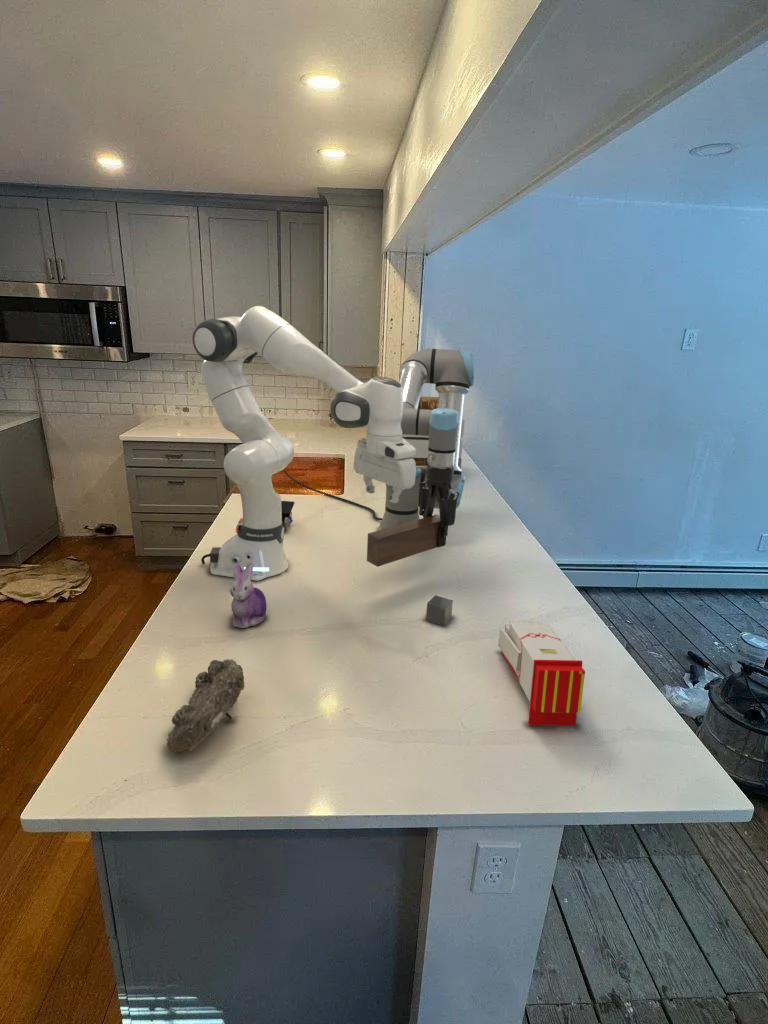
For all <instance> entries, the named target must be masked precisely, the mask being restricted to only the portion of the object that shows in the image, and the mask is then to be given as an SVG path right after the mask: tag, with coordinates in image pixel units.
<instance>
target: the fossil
mask: <svg viewBox="0 0 768 1024" xmlns="http://www.w3.org/2000/svg"><path fill="white" fill-rule="evenodd" d="M243 670H244V669H243V667H242V665H240V664H237V662H236V661H235V660H234V659H232V658H231V659H227V658H226V659H224V660H223V661H222V660H217V659H212V660H211V661H210V663H209V665H208V666H207V671H201V672H199V673H198V674H197V675H196V676H195V680H194V684H195V685H194V687H195V689H194V690H193V693H192V694H191V697H190V698H189V700H188V704H184V705H182V706H181V707H180V709H177V710H176V711H175V713H174V715H173V716H172V718H171V723H172V724H173V727H172V730H171V731H170V732H168V734H167V738H166V741H167V742H166V745H167V749H168V750H169V751H173V752H174V753H176V754H178V753H182V752H188V751H189V752H192V751H193V750H195V748H196V747H197V746H199V744H200V743H201V742H203V741H204V740H205V739H206V738H207V737H208V736H209V735H210V734H211V733H212V732H214V730H215V729H217V727H218V726H219V724H220V722H221V721H222V720H223V719H224V718H225V716H226V717H227V719H229V720H233V717H232V715H230V714H229V710H230V709H231V708H234V706H235V704H236V703H237V702H238V699H239V697H240V695H241V693H242V691H243V690H245V689H244V688H245V675H244V671H243Z"/></svg>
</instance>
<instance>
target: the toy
mask: <svg viewBox="0 0 768 1024" xmlns="http://www.w3.org/2000/svg"><path fill="white" fill-rule="evenodd" d="M498 636H499V637H498V642H497V646H498V647H499V649H500V653H501V654H502V656H503V657H504V659H505V661H506V663H507V664H508V665H509V667H510V669H511V671H512V672H513V674H514V676H515V677H516V679H517V680H518V681H519V684H520V686H521V688H522V690H523V692H524V694H525V696H526V698H527V700H528V701H529V710H528V719H527V724H528V726H573V727H575V726H576V724H577V723H576V722H577V715H578V714H581V710H582V709H581V708H582V701H583V692H584V683H585V674H586V670H585V669H584V668H583V662H584V661H583V660H581V659H580V660H578V659H576V657H575V656H574V655H573V654H572V653H571V651H570V650H569V648H568V647H567V645H565V644H564V642H563V641H562V640H561V638H560V637H559V636H558V635H557V633H556V631H555V630H554V629H553V628H552V627H551V626H550V624H549V622H527V621H526V622H525V621H523V622H521V621H509V624H504V628H503V627H500V628H499V634H498Z"/></svg>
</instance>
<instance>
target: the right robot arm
mask: <svg viewBox="0 0 768 1024" xmlns="http://www.w3.org/2000/svg"><path fill="white" fill-rule="evenodd" d="M474 363H475V361H474V354H473V352H472V351H470V350H464V349H463V350H462V349H450V348H449V349H447V348H446V349H444V348H429V347H428V348H423V349H420V350H417V351H415V352H413V353H412V354H410V355H409V356H408V357H407V358H405V359H404V361H403V362H402V363H401V365H400V367H399V371H398V378H399V381H398V382H399V383H400V384H401V386H402V390H403V418H402V421H401V428H402V434H407V435H420V436H429V447H428V459H427V463H428V464H429V465H428V466H426V473H425V472H422V469H421V468H420V467H419V466H418V467H417V466H416V476H415V484H414V486H413V487H412V488H410V489H405V490H402V492H401V494H400V495H399V501H398V502H397V503H393V502H390V495H393V493H394V490H393V486H391V485H388V484H386V483H385V504H384V505H385V507H384V508H385V509H384V513H383V515H382V517H378V516H376V512H375V510H374V509H372V508H371V507H368V506H366V505H364V504H360V503H358V502H355V501H352V500H349V499H346V498H343V497H340V496H337V495H334V494H331V493H327V492H324V491H321V490H318V489H315V488H313V487H310V486H309V485H306V484H303V483H302V482H300V481H299V480H296V479H295V478H293V477H292V476H291V475H290V474H289V473H288V472H287V471H286V470H283V473H284V474H285V475H286V476H287V477H288V478H289V479H290V480H291V481H293V482H294V483H296V484H297V485H300V486H301V487H304V488H306V489H308V490H311V491H313V492H315V493H318V494H321V495H324V496H327V497H331V498H334V499H336V500H340V501H342V502H345V503H349V504H352V505H355V506H356V507H357V506H358V507H359V508H363V509H366V510H367V511H370V512H371V513H372V517H373V519H375V520H377V521H381V522H379V526H378V531H379V530H382V529H386V528H389V527H393V526H397V525H400V524H404V523H407V522H411V521H415V520H418V519H421V518H420V516H422V518H426V517H429V516H433V515H434V514H433V513H434V510H435V509H439V510H438V511H439V515H440V522H441V525H439V526H438V537H437V547H436V548H442V547H444V546H446V545H445V541H446V542H447V537H448V533H449V527H450V526H454V525H455V523H456V514H457V513H456V512H457V509H458V508H459V507H460V504H461V501H462V496H463V493H464V492H463V491H464V486H465V482H466V477H465V476H464V475H463V474H462V472H463V470H462V468H461V469H460V468H459V467H458V459H459V448H460V439H461V438H460V436H461V425H462V419H463V414H464V403H465V396H466V395H467V394H468V393H469V392H470V387H474V386H475V364H474ZM425 384H430V385H434V386H435V387H434V390H435V391H436V393H437V394H438V397H439V401H438V408H437V409H433V410H425V409H417V408H418V403H419V399H420V397H421V394H422V389H423V386H424V385H425Z"/></svg>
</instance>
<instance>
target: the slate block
mask: <svg viewBox="0 0 768 1024" xmlns="http://www.w3.org/2000/svg"><path fill="white" fill-rule="evenodd" d="M453 603H454V600H453V599H450V598H446V597H443V596H440V595H436V594H435V595H434V596H433V597H431V599H430V600H429V601H428V602H427V603H426V613H425V621H428V622H430V623H433V624H437V625H440V626H445V625H446V624H447V623H448V622H449V621H450V620H451V619H452V614H453Z"/></svg>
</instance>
